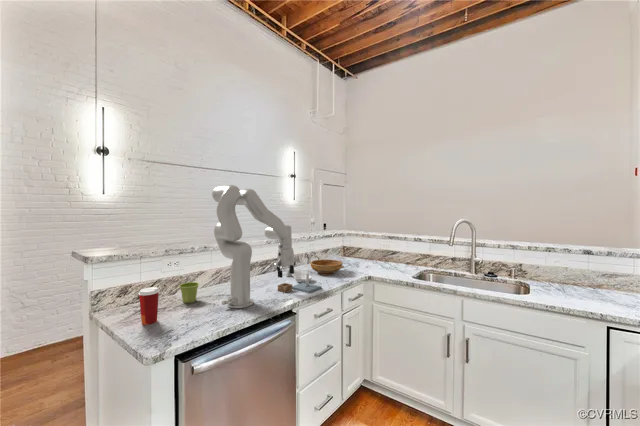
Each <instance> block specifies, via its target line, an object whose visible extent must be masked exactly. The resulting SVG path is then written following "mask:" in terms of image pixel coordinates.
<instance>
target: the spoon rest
mask: <svg viewBox="0 0 640 426" xmlns="http://www.w3.org/2000/svg"><path fill="white" fill-rule="evenodd" d="M306 273H307V272H305V271H302V270H300V269H299V268H296V267H294V274H291V273H289V269H288V270H287V272H286V275H285V276H286V277H289V278H290V277H293V279H294V280H295V281H296V282H297V283H298V284H301V283H306ZM312 279H313V276H312V275H310V274H309V282H310V281H311V280H312Z"/></svg>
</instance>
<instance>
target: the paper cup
mask: <svg viewBox="0 0 640 426" xmlns="http://www.w3.org/2000/svg"><path fill="white" fill-rule="evenodd" d="M159 293H160V289H159V288H158V287H156V286H155V287H154V286H152V287H145V288H141V289H139V292H138V295H139V297H138V299H139V307H140V308H139V309H140V310H139V311H140V319H141V320H140V322H141V325H144V326H148V324H149V325H152V324H153V325H154V324H155V323H157V321H158V313H159V311H158V310H159Z"/></svg>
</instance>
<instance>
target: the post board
mask: <svg viewBox="0 0 640 426" xmlns="http://www.w3.org/2000/svg"><path fill="white" fill-rule="evenodd" d="M305 273H306V283H298V284H294V285H292V290H295V291H298V292H302V293H306V294H307V293H308V294H310V293H313V292H316V291H318V290H321V289H322V286H321V285H318V284H312V283H310V281H309V275H310V274H309V272H305Z"/></svg>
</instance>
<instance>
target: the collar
mask: <svg viewBox="0 0 640 426" xmlns="http://www.w3.org/2000/svg"><path fill="white" fill-rule="evenodd" d="M292 286H293V284H291V283H287V282H283V283H280V284H277V292H280V293H283V294H287V293H290V292H292V291H293V289H292Z"/></svg>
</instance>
